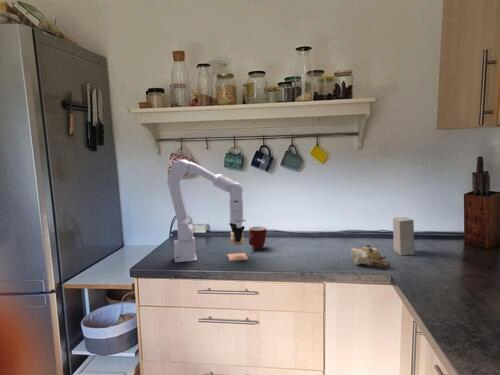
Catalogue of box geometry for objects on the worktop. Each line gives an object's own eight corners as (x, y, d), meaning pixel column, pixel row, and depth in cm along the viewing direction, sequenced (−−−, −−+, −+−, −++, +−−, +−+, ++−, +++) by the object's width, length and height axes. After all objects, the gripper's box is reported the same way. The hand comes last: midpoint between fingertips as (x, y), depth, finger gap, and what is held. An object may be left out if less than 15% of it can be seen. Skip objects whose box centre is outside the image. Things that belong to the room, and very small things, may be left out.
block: (232, 245, 156) (232, 234, 156) (230, 242, 161) (230, 231, 161) (243, 244, 157) (243, 233, 157) (241, 241, 162) (241, 231, 162)
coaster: (229, 261, 155) (229, 259, 155) (227, 255, 163) (227, 254, 163) (248, 259, 157) (247, 258, 157) (244, 254, 165) (244, 252, 165)
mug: (258, 253, 165) (258, 232, 164) (243, 251, 169) (243, 230, 168) (269, 247, 174) (269, 227, 173) (254, 245, 178) (254, 225, 177)
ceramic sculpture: (350, 239, 153) (387, 243, 150) (348, 259, 154) (385, 262, 152) (352, 247, 143) (392, 251, 140) (350, 268, 144) (389, 272, 141)
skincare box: (414, 255, 158) (416, 220, 156) (398, 255, 158) (399, 220, 156) (406, 249, 167) (408, 216, 165) (391, 249, 167) (392, 216, 165)
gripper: (248, 212, 151) (249, 243, 153) (242, 206, 165) (243, 235, 167) (231, 213, 150) (232, 245, 151) (227, 207, 164) (228, 236, 166)
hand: (237, 240), depth 159 cm, fingers closed on block, 5 cm apart
